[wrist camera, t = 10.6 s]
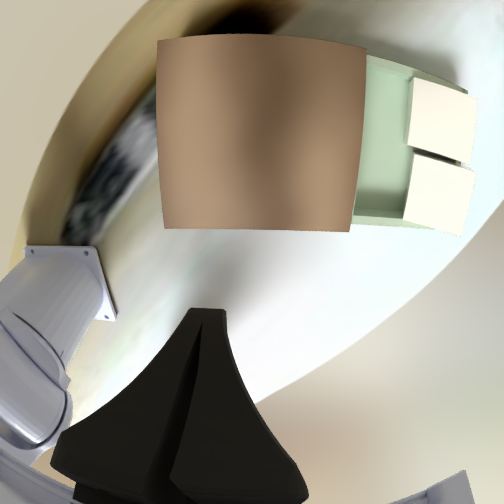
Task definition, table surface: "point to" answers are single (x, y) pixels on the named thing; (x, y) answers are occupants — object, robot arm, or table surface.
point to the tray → (387, 144)
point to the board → (259, 131)
